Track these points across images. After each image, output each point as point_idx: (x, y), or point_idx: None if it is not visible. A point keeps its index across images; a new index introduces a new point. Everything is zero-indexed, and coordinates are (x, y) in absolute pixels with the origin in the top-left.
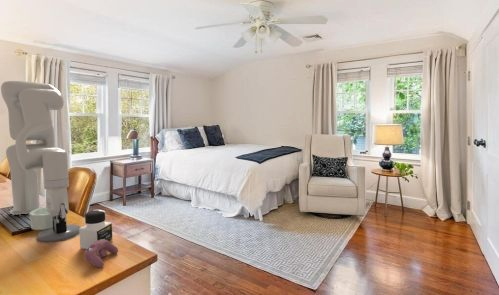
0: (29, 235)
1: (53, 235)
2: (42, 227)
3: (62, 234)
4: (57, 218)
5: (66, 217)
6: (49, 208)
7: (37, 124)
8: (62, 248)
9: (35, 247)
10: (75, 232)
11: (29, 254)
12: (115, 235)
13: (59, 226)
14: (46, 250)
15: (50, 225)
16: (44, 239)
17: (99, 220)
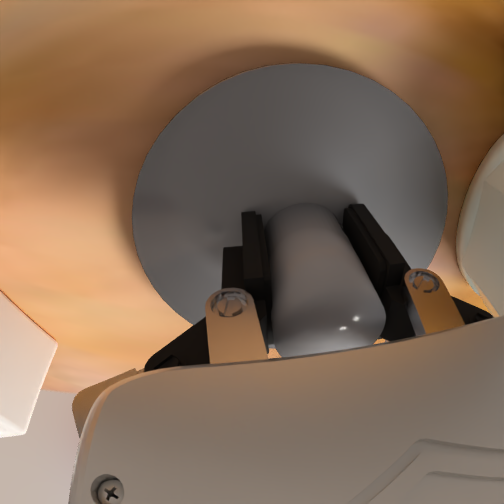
0: (460, 53)
1: (227, 180)
2: (500, 162)
3: (196, 242)
4: (210, 353)
5: (490, 312)
6: (405, 468)
7: None
8: (4, 200)
9: (118, 30)
10: (179, 313)
11: (19, 14)
12: (79, 391)
13: (223, 277)
14: (15, 111)
15: (481, 212)
16: (193, 100)
17: None
